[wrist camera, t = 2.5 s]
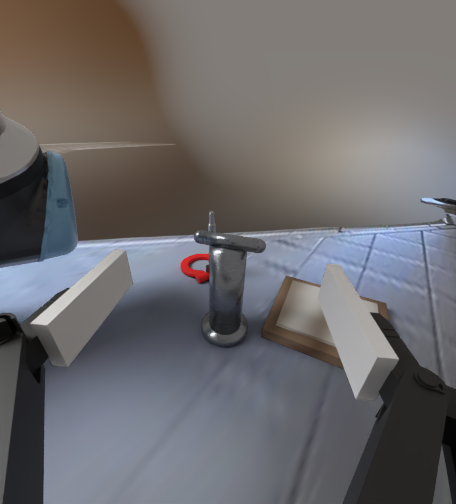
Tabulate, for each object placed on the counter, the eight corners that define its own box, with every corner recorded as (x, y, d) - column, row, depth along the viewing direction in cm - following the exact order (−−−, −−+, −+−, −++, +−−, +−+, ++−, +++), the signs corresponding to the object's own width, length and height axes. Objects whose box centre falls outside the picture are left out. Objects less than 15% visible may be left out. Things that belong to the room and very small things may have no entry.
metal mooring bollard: (187, 337, 31) (181, 239, 24) (204, 307, 36) (204, 221, 30) (249, 354, 29) (262, 253, 22) (258, 320, 34) (270, 230, 28)
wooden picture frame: (261, 336, 31) (262, 326, 30) (284, 282, 43) (286, 273, 42) (395, 389, 26) (403, 378, 25) (382, 310, 37) (387, 300, 36)
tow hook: (174, 265, 47) (195, 287, 41) (167, 204, 41) (190, 218, 35) (208, 254, 52) (233, 272, 45) (206, 198, 46) (234, 209, 39)
